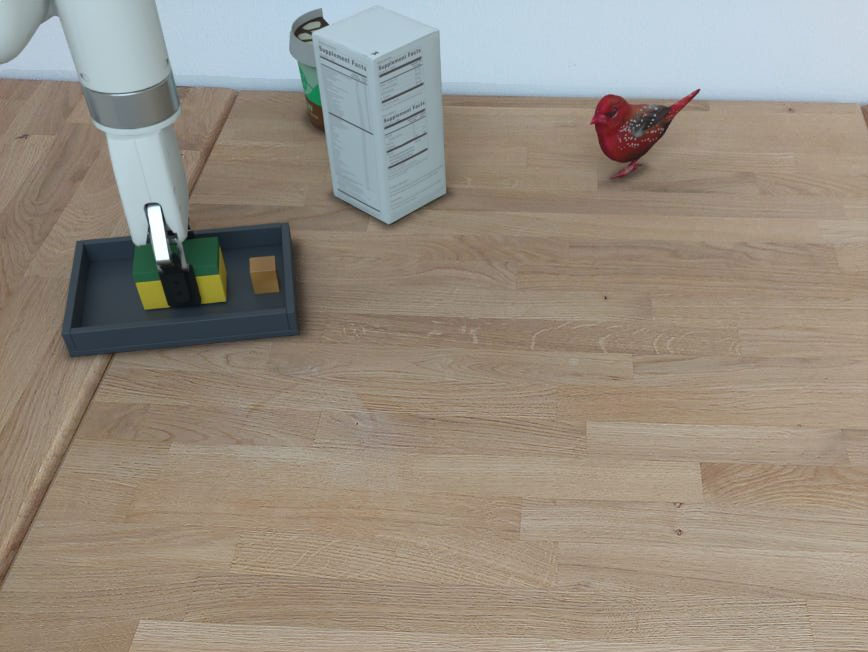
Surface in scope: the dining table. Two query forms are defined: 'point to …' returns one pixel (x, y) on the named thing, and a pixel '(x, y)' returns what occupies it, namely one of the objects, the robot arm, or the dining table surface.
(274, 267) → the small brown block
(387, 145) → the supplement box
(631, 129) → the decorative bird figurine
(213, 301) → the sponge
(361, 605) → the dining table surface
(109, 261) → the tray
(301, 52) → the food container
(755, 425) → the dining table surface
